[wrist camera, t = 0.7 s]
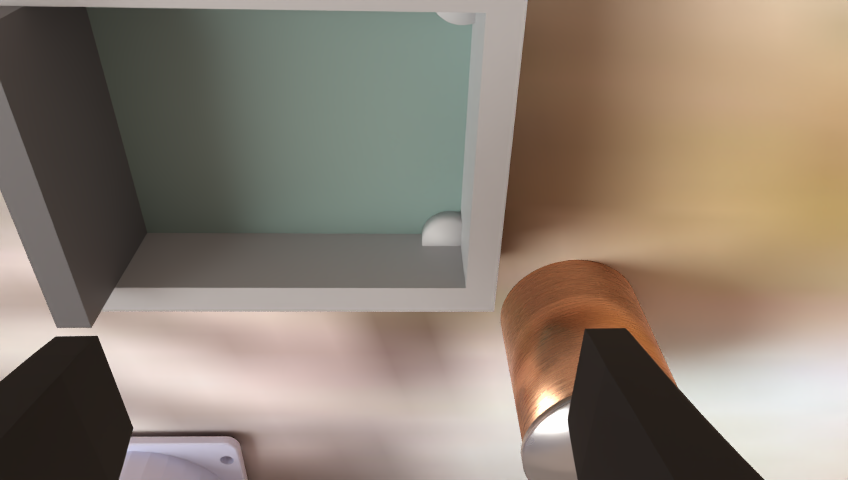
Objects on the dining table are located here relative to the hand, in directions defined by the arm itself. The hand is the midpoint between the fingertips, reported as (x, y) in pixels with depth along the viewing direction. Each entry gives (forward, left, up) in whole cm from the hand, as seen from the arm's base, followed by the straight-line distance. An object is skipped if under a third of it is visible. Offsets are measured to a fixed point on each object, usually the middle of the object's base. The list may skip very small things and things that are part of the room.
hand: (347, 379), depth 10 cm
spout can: (-7, -7, -10) cm, 14 cm away
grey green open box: (0, +2, -10) cm, 10 cm away
